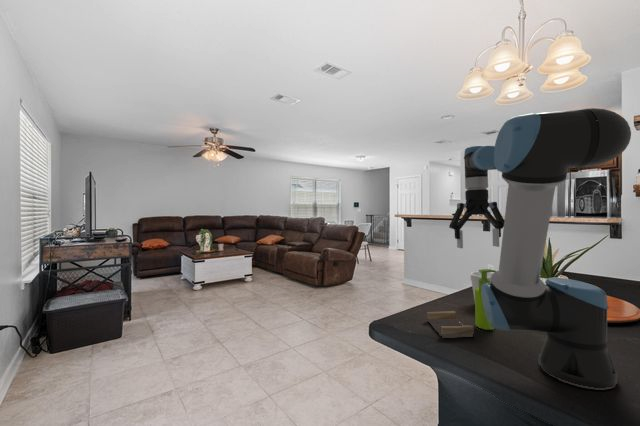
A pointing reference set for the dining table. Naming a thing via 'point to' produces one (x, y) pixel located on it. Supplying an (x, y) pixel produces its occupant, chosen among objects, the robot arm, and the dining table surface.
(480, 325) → the soap dispenser
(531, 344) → the dining table surface
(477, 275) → the foam cup
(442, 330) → the cradle
